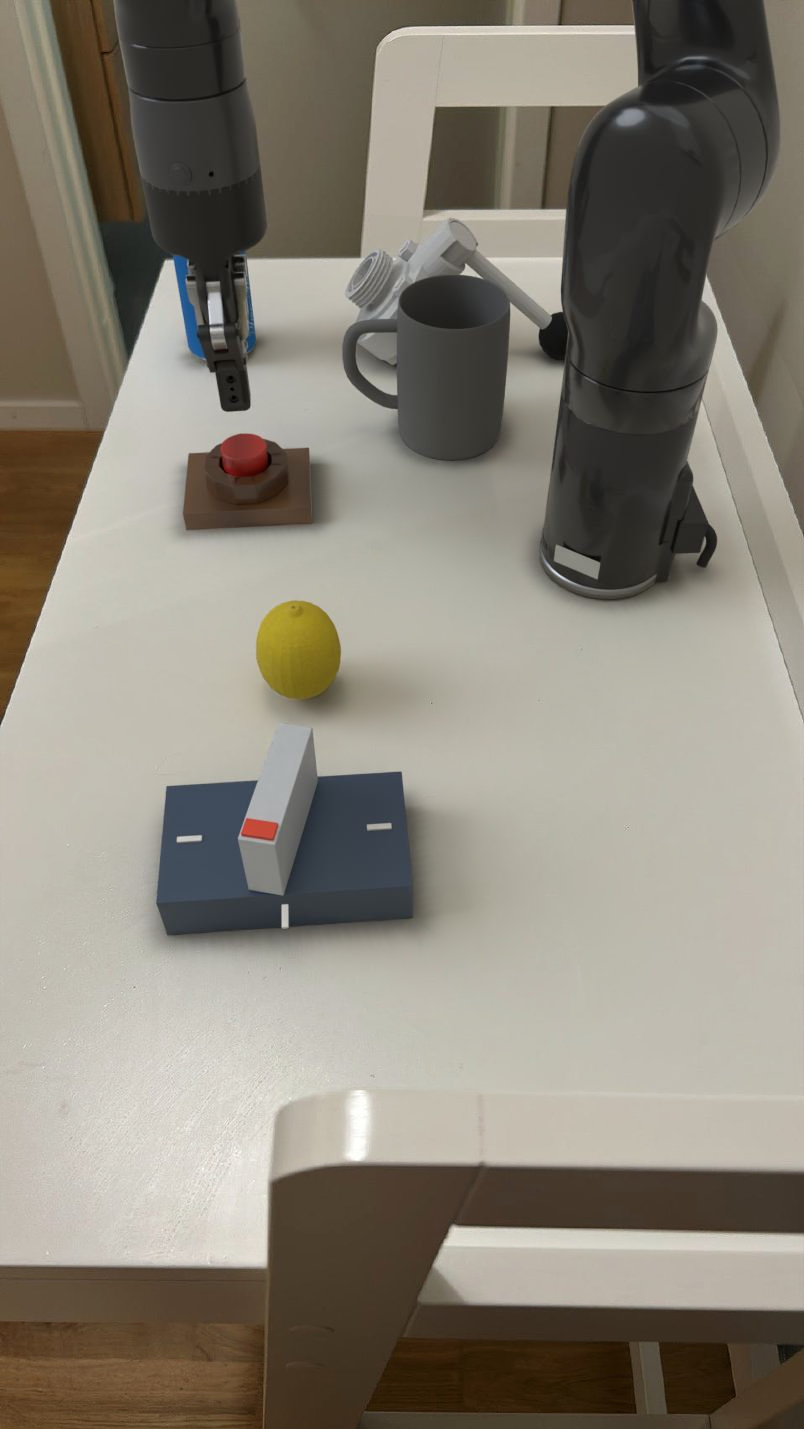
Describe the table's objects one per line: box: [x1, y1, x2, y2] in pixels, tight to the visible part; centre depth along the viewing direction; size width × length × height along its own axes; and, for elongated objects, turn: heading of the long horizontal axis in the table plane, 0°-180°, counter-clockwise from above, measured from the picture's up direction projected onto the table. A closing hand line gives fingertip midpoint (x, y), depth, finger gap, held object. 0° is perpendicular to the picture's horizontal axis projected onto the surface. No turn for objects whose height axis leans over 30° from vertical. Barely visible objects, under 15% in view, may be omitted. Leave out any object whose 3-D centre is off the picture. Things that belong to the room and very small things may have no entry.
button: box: [221, 432, 269, 477], centre depth 83 cm, size 4×4×2 cm
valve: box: [344, 217, 568, 366], centre depth 98 cm, size 10×20×15 cm
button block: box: [182, 438, 313, 531], centre depth 84 cm, size 10×8×4 cm
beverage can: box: [172, 251, 257, 362], centre depth 96 cm, size 6×6×12 cm
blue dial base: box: [155, 771, 414, 936], centre depth 61 cm, size 14×12×4 cm
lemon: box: [255, 600, 342, 700], centre depth 68 cm, size 6×6×8 cm
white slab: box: [238, 722, 319, 895], centre depth 58 cm, size 8×2×5 cm, turn 169°
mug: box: [341, 274, 511, 461], centre depth 87 cm, size 14×9×12 cm
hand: (236, 405), depth 78 cm, fingers closed
